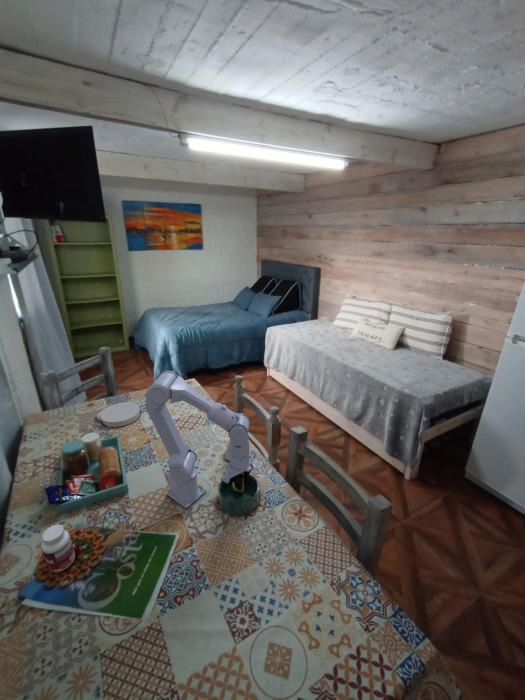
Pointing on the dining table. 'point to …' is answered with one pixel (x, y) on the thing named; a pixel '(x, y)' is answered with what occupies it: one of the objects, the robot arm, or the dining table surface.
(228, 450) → the flask
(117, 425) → the lid
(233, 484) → the ball
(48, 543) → the pill bottle
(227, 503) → the bowl
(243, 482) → the stick
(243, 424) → the robot arm
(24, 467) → the dining table surface
